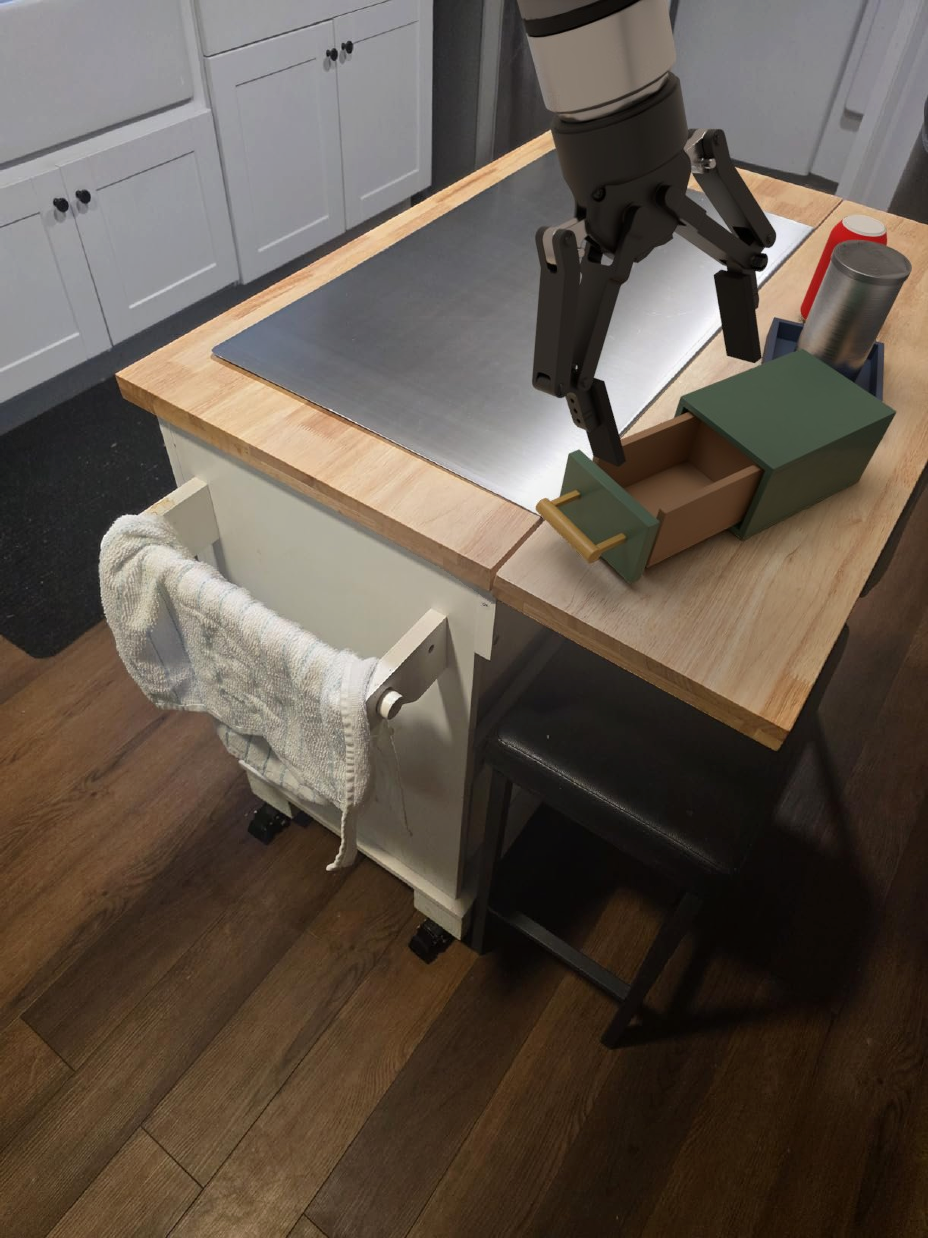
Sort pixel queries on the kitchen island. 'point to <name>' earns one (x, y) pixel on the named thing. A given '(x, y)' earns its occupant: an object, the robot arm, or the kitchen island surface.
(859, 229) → the beverage can
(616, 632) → the kitchen island surface
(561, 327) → the robot arm
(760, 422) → the cabinet
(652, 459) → the drawer
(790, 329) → the tray
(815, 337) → the silver tall cylinder
